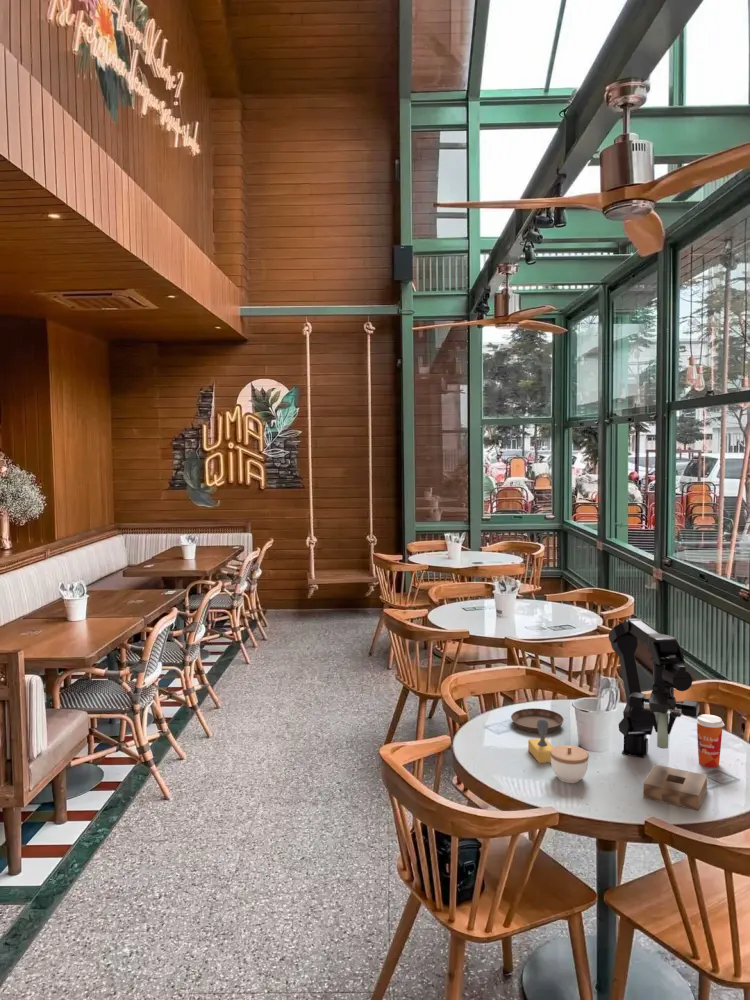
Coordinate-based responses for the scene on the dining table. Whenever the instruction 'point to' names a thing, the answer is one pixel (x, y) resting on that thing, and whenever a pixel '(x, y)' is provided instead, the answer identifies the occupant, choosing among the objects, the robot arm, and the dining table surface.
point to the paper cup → (709, 739)
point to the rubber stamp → (541, 743)
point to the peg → (662, 730)
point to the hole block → (675, 786)
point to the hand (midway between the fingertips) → (662, 733)
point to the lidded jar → (569, 763)
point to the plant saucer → (536, 719)
